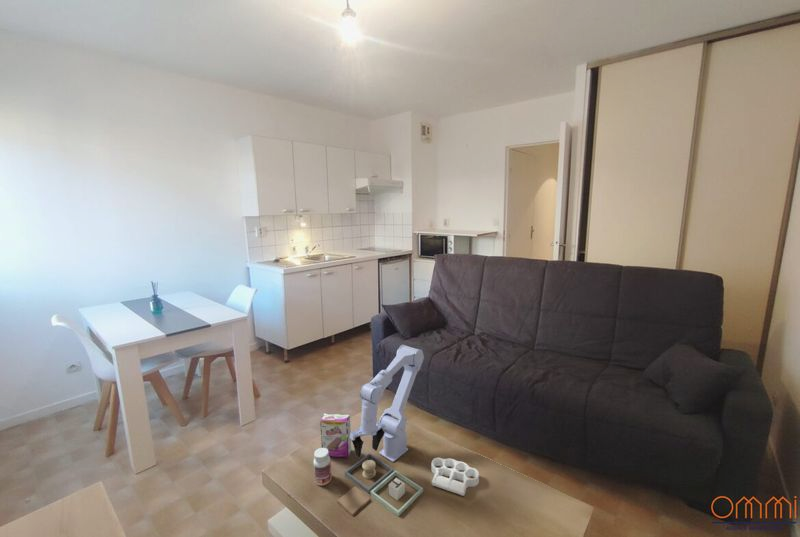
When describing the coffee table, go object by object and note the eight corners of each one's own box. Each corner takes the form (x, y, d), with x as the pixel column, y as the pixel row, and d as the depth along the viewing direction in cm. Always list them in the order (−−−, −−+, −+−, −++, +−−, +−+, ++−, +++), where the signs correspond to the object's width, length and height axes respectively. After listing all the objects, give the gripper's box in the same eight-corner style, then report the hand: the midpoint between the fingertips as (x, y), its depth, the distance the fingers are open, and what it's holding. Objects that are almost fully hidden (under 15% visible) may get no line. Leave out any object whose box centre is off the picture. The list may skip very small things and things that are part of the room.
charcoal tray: (369, 456, 140) (369, 453, 140) (393, 472, 132) (393, 468, 132) (344, 475, 131) (344, 471, 131) (368, 493, 122) (368, 489, 122)
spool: (369, 467, 135) (369, 457, 134) (378, 473, 132) (378, 464, 131) (359, 474, 131) (359, 465, 130) (369, 481, 128) (368, 471, 127)
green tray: (395, 473, 131) (395, 470, 131) (422, 491, 123) (422, 488, 122) (370, 495, 122) (370, 491, 121) (398, 516, 113) (398, 512, 113)
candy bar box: (321, 457, 140) (319, 420, 137) (325, 448, 145) (323, 412, 142) (349, 458, 139) (347, 421, 136) (351, 449, 144) (350, 413, 141)
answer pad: (354, 488, 125) (354, 486, 125) (370, 500, 120) (370, 498, 119) (337, 502, 119) (337, 500, 119) (352, 515, 114) (352, 513, 114)
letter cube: (396, 487, 125) (396, 477, 124) (404, 493, 122) (404, 483, 122) (388, 494, 122) (388, 484, 121) (397, 500, 119) (397, 490, 119)
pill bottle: (334, 481, 128) (332, 453, 126) (318, 488, 125) (316, 460, 123) (327, 470, 133) (326, 444, 131) (312, 477, 130) (310, 450, 128)
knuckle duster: (423, 485, 126) (436, 458, 139) (472, 502, 119) (482, 472, 132) (423, 476, 126) (436, 451, 139) (473, 493, 118) (482, 464, 131)
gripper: (358, 427, 120) (356, 465, 121) (391, 416, 130) (388, 451, 131) (347, 418, 126) (345, 454, 126) (379, 408, 135) (377, 442, 136)
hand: (366, 452), depth 129 cm, fingers open, 7 cm apart
